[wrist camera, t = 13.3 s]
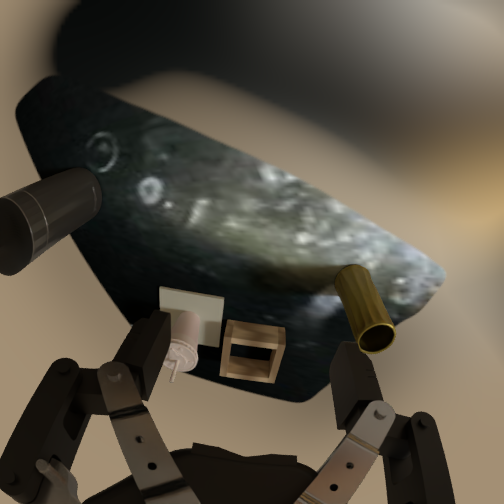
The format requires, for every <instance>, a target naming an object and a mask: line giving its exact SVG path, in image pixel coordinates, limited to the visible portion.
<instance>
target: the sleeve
mask: <svg viewBox="0 0 504 504" xmlns="http://www.w3.org/2000/svg"><path fill="white" fill-rule="evenodd" d="M231 343H234V344H241V345H248V346H255V347H262V348H270V349H272V352H271V356H270V360H269V361H264V360H257V359H249V358H242V357H236V356H230V350H231ZM285 345H286V343H285V328H283V327H275V326H268V325H260V324H253V323H247V322H240V321H234V320H227V325H226V330H225V335H224V342H223V351H222V360H221V369H220V376H225V377H231V378H238V379H245V380H252V381H260V382H269V383H274V381H275V378H276V375H277V372H278V369H279V365H280V362H281V359H282V355H283V352H284V349H285Z"/></svg>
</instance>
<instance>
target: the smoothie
mask: <svg viewBox="0 0 504 504" xmlns="http://www.w3.org/2000/svg"><path fill="white" fill-rule="evenodd" d="M199 326H200V318H199V316H198V315H197V314H195V313H194V312H191V311H184V312H182V313H181V314H180V316H179V317H178V319H177V321H176V322H175V324H174V325H173V327H172V328H171V343H170V347H169V350H168V353H167V355H166V358H165V360H164V362H163V365H165V366H166V367H168V368H170V369H172V370H173V372H172V375H171V377H170V381H169V382H170V383H173V381H174V378H175V374H176V371H181V372H184V371H189V370H192V369H193V368H194V367H195V366H196V364H197V361H198V354H197V345H198V335H199Z"/></svg>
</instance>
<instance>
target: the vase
mask: <svg viewBox="0 0 504 504" xmlns="http://www.w3.org/2000/svg"><path fill="white" fill-rule="evenodd" d="M335 289H336V291H337V292H338V295H339V297H340V299H341V301H342V304H343V306H344V309H345V312H346V314H347V317H348V320H349V323H350V326H351V328H352V331H353V335H354V337H355V340H356V343H358V345H359V348H360V351H361V352H363V353H367V354H377V353H380V352H382V351H384V350H386V349H387V348H389V346H391V345H392V343H393V342H394V340H395V337H396V330H395V327H394V325H393V323H392V321H391V319H390V317H389V315H388V313H387V311H386V309H385V307H384V305H383V302H382V300H381V298H380V295H379V293H378V291H377V289H376V287H375V285H374V284H373V282H372V279H371V276H370V273H369V271H368V270H367V269H366V268H364V267H362V266H360V265H351V266H348V267H346V268H344V269H342V270H341V271H340V272H339V273H338V275H337V277H336V279H335Z"/></svg>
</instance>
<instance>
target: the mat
mask: <svg viewBox="0 0 504 504" xmlns="http://www.w3.org/2000/svg"><path fill="white" fill-rule="evenodd" d="M159 292H160V311H164V312H168V313H170V314H171V328H172V327H173V325H174V324H175V322H176V321H177V319H178V317H179V316H180V314H181V313H182V312H184V311H191V312H194V313H195V314H197V315H198V316H199V318H200V326H199V335H198V344H202V345H207V346H213V347H219V342H220V332H221V323H222V313H223V304H224V297H219V296H213V295H207V294H201V293H195V292H189V291H184V290H178V289H173V288H167V287H162V286H160V288H159Z"/></svg>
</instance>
